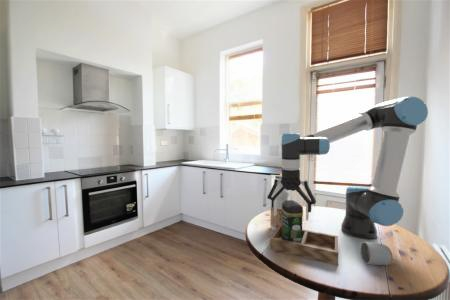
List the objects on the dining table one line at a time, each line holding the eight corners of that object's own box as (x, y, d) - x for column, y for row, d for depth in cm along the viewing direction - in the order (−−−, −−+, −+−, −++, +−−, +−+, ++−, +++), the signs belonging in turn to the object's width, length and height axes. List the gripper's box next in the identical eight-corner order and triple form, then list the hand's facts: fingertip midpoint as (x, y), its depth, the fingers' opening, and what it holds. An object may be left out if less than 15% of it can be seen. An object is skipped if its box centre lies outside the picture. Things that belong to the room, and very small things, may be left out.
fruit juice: (267, 230, 111) (267, 176, 110) (274, 224, 119) (275, 173, 117) (285, 234, 106) (285, 178, 104) (291, 228, 113) (292, 175, 112)
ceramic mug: (394, 270, 77) (394, 248, 77) (369, 268, 78) (370, 247, 78) (377, 254, 88) (377, 236, 88) (355, 253, 89) (356, 235, 89)
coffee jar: (279, 238, 99) (279, 199, 98) (295, 238, 100) (296, 198, 99) (286, 249, 90) (287, 205, 89) (305, 248, 90) (306, 205, 89)
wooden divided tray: (337, 247, 93) (338, 235, 93) (338, 265, 80) (338, 252, 80) (278, 235, 105) (278, 225, 105) (269, 249, 92) (270, 238, 91)
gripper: (322, 169, 91) (322, 218, 92) (265, 166, 103) (265, 210, 104) (321, 171, 84) (321, 224, 86) (260, 168, 96) (260, 215, 97)
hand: (290, 217), depth 95 cm, fingers open, 13 cm apart
